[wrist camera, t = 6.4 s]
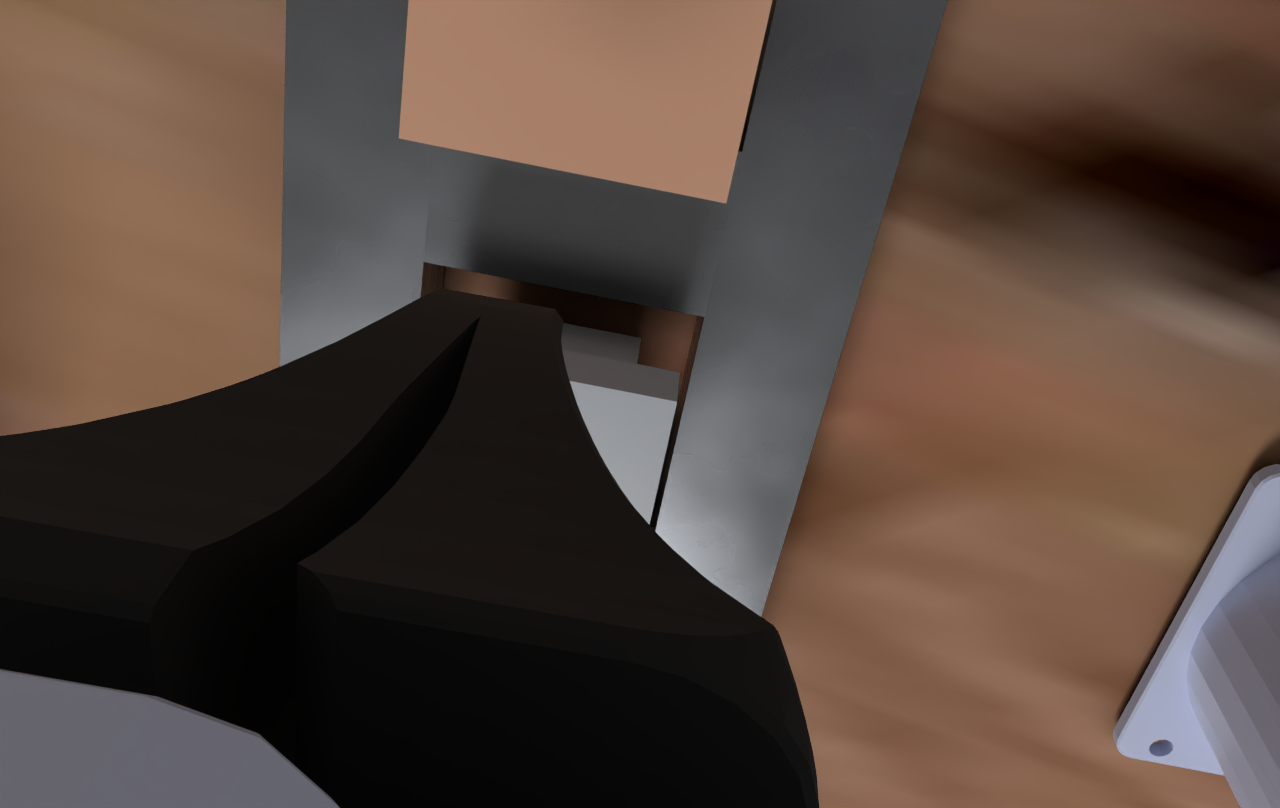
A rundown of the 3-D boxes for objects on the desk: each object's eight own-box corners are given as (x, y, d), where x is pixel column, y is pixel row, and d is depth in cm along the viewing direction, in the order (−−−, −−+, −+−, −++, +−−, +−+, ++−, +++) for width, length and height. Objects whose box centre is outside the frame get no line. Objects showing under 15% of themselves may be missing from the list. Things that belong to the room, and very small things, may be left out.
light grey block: (686, 311, 20) (677, 402, 17) (642, 506, 22) (628, 616, 19) (448, 264, 20) (398, 347, 17) (428, 465, 22) (381, 569, 19)
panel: (1024, -353, 16) (1059, -370, 14) (678, 835, 29) (674, 902, 27) (345, -495, 16) (296, -532, 14) (299, 764, 29) (270, 827, 27)
